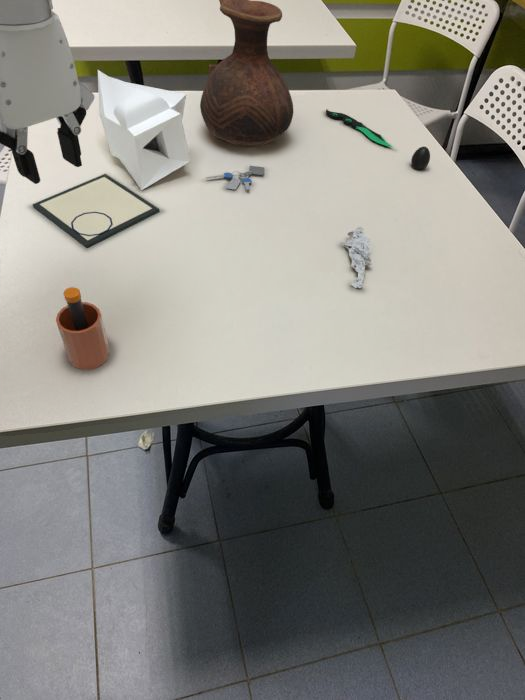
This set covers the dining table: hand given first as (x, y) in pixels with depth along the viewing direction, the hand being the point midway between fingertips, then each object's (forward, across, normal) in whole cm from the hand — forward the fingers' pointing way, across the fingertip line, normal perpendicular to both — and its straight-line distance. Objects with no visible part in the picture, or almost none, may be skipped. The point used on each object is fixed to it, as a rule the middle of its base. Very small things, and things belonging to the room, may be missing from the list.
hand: (52, 169), depth 63 cm
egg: (+22, -82, +17) cm, 87 cm away
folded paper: (+23, -36, -28) cm, 51 cm away
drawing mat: (+23, -17, -19) cm, 34 cm away
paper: (+23, -41, +26) cm, 54 cm away
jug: (+23, -62, -20) cm, 69 cm away
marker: (+23, +6, +10) cm, 25 cm away
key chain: (+23, -46, -7) cm, 52 cm away
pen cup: (+23, +6, +10) cm, 26 cm away
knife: (+22, -87, -3) cm, 90 cm away
